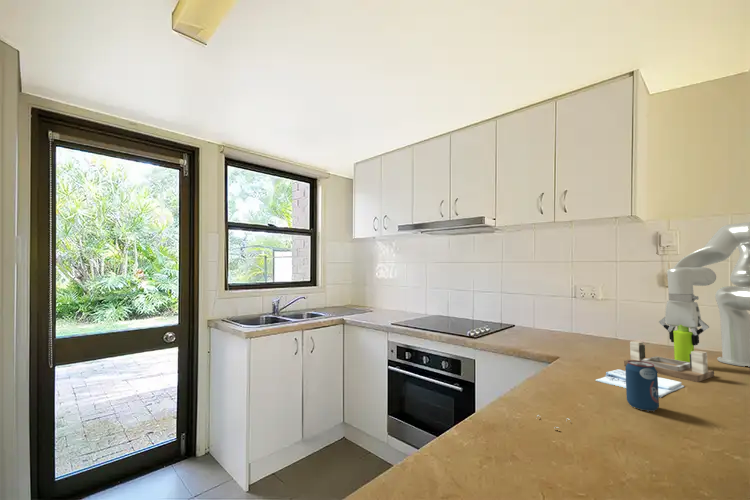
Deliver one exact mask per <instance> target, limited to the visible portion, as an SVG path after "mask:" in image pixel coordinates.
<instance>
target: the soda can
mask: <svg viewBox="0 0 750 500" xmlns="http://www.w3.org/2000/svg"><path fill="white" fill-rule="evenodd" d="M624 367H625V371H626V390H625V393H626V401H627V403H628V404H629V406H630V405H631V406H632V407H631V406H630V407H631V408H633V407H635V408H638V409H641V410H640V411H642V410H647V411H646V412H649V411H653V412H656V411H655V410H657V409H658V408H659V407H660V402H659V401H660V398H659V396H658V373H657V370H656V369H655V367H654V364H652V363H649V362H644V361H637V360H630V361H628V364H627V365H626V366H624ZM635 408H634V409H635ZM638 409H637V410H638Z"/></svg>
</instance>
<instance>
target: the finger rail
mask: <svg viewBox="0 0 750 500" xmlns="http://www.w3.org/2000/svg"><path fill="white" fill-rule="evenodd" d="M629 350H630V351H629V353H630V354H629V355H630V359H626V360H623V361H624V362H623V365H624V367H626V365H627V364H628V361H630V360H637V361H644V362H649V363H652V364H654V367H655V369H656V370H657V374H660V375H664V376H668V377H674V378H678V379H681V380H687V381H692V382H696V383H698V382H702V381H705V380H707V379H710V378H713V377H715V371H714V370H713V369H709V364H708V352H707V351H700V350H694V351H692V352H691V354H690V362H685V361H679V360H675V358H668V357H663V356H652V357H646V345H645V344H644V341H638V340H632V341H629Z"/></svg>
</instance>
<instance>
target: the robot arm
mask: <svg viewBox="0 0 750 500" xmlns="http://www.w3.org/2000/svg"><path fill="white" fill-rule="evenodd" d="M736 249H737V250H738V251H739V256H738V259H737V261H736V263H735V265H734V267H733V269H732V271H731V274H730V277H729V280H730V283H732V284H733V285H734V286H733V285H729V286H724V287H723V286H722V287H720V288H718V289H717V290H716V292H715V296H714V298H715V301H716V305H717V308H718V312H719V319H720V335H721V354H722V356H717V359H716V360H717V361H719V363H724V364H728V365H731V366H732V365H733V366H739V367H745V366H748V367H747V368H750V313H749V312H748V311H750V221H748V222H741V223H731V224H726V225H723V226H722V227H720V228H719V229H718V230H717V231H716V232H715V233H714V235H713V236H712V237H711V238H709V241H708V242H706V244H705V245H704V246H703V247H701V248H699V249H697V250H695V251H693V252H691V253H689V254H687V255H685V256H684V257H682V258H681V259H680V260H679V261H678V262H677V263H676V264H675V265H674V266H673V267H672V268H671V267H670V268H668V269H667V272H666V275H667V276H666V278H667V289H668V290H667V291H668V300H667V301H666V305H665V316H664V317H663V318H662V319H660V320H659V321H658V323H659V324H660V325H661V326H662V327H663V328H664V329H666V331H667V332H668V335H669V336H668V337H669V340H670V342H671V343H674V333H673V331H675V329H677V328H676V327H677V326H680V325H683V326H684V327H689V330H691V331H690V332H693V335H692V345H694V346H698V345H699V344H700V334H702V333H703V332H705V331H706V330H708V329H709V328H710V325H709V324H707V323H706V322H704V321H703V320H702V317H701V311H700V308H699V304H698V302H696V301H697V300H699V296H698V295H695V294H694V286H695V287H697V286H698V287H703V286H707V287H708V286H710V285H712V284H714V283H715V282H716V280H717V274H716V272H715V271H714V270H713V269H711V268H708V267H707V266H710V265H714V264H717V263H721V262H724V261H726V260H728V259H729V258H730V257H731V255H733V253H734V252H735V250H736Z"/></svg>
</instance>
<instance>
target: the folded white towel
mask: <svg viewBox="0 0 750 500" xmlns="http://www.w3.org/2000/svg"><path fill="white" fill-rule="evenodd" d="M595 382H598V383H602V384H606V385H610V386H614V385H615V387H617V386H619V388H621V387H623V388H622V389H625V388H626V370H622V369H621V368H620V369H619V368H618V369H614V370H610V371H606V372H605V375H604V376H603V377H600V378H597V379H595ZM683 388H685V385H683V383H682V381H679V380H678V381H677V380H675V379H674V380H673V379H669V378H664V377H661V376H660V377H658V396H659V397H660V398H662V397H664V396H666V395H668V394H670V393H673V392H676V391H678V390H680V389H683ZM660 398H659V399H660Z"/></svg>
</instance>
